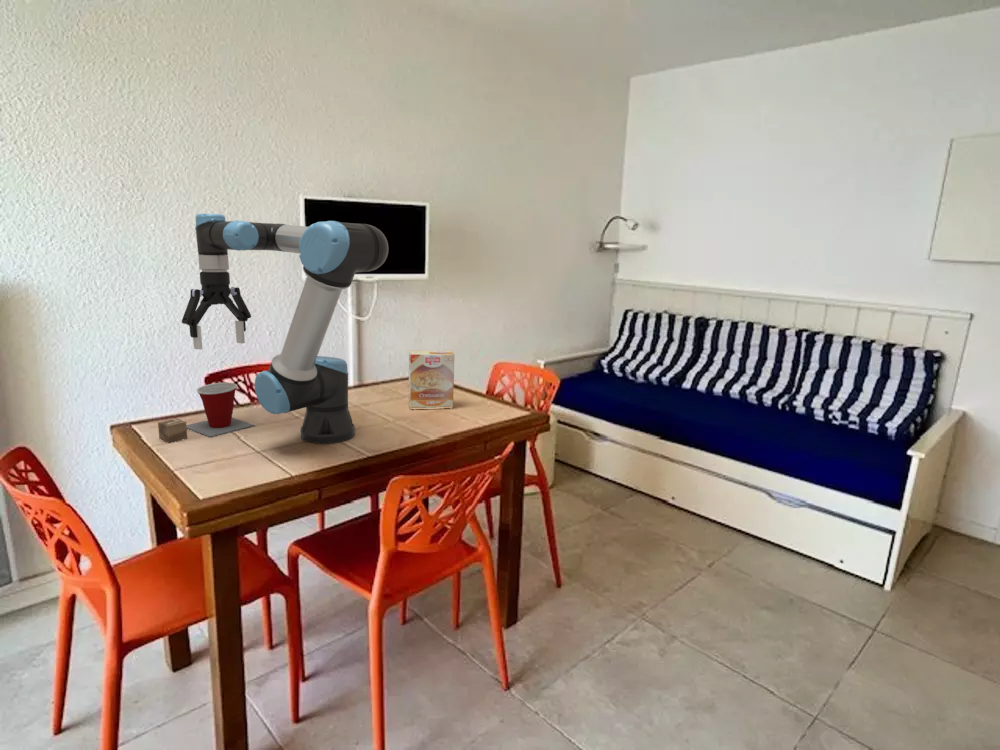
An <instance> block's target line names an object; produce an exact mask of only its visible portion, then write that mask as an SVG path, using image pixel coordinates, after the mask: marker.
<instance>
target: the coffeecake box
mask: <svg viewBox="0 0 1000 750" xmlns="http://www.w3.org/2000/svg"><path fill="white" fill-rule="evenodd" d="M454 378H455V354H454V352H453V351H452V350H409V351H408V407H409V410H410V409H412V408H436V407H454V383H455V379H454Z"/></svg>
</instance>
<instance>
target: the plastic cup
mask: <svg viewBox="0 0 1000 750" xmlns="http://www.w3.org/2000/svg"><path fill="white" fill-rule="evenodd" d="M237 388H238V384H237V383H234V382H225V381H224V382H216V383H215V382H214V383H209V384H205V385H202V386H199V387H198V388H197V389H196V392H197V394H199V397H200V399H201V402H202V406H203V409H204V412H205V416H206V419H207V420H208V423H209V426H210V427H212V428H224V427H228V426H230V425H231V420H232V418H233V414H234V412H233V411H234V403H235V396H236V389H237Z"/></svg>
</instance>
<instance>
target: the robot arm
mask: <svg viewBox="0 0 1000 750" xmlns="http://www.w3.org/2000/svg"><path fill="white" fill-rule="evenodd" d="M194 230H195V233H196V234H195V236H196V245H197V255H198V269H199V270H201V271H200V272H199V280H200V285H201V289H198V288H197V289H196V288H195V289H194V288H191V289H190V297H189V300H188V303H187V305H186V309H185V311H184V313H183V316H182V318H181V324H184V325H187V326H189V334H190V335H189V336H190V337H191V338H192V340H193V341H192V342H193V343H192V344H193V350H199V351H201V350H203V341H202V338H203V337H202V327H201V325H198V324H199V323H200V322H201V320H202V318H203V317H204V316H205V314H206V313H207V311H208V309H209V308H210V307H211V306H212V305H214V306H216V305H224V306H225V307H226V308H227V310H229V312H230V313H231V315H233V316H234V317H235V318H236V320H235V321H234V324H235V327H234V328H235V337H236V338H235V339H236V343H237V344H246V342H245V341H246V339H245V332H246V330H247V329H246V328H247V327H246V322H248V320H249V319H251V318H252V314H251V312H250V311H249V309H248V307H247V304H246V302H245V300H244V299H243V297H242V294H241V289H240V288H239V287H237V286H236V287H235V286H232V287H230V284H231V280H230V279H231V277H230V273H229V271H228V270H230V261H229V253H228V252H229V250H231V251H243V252H244V251H273V252H274V251H276V252H283V253H294V254H299V256H298V257H299V260H300V263H301V264H302V270H303V273H304V274H305V276H306V279H305V281H304V284H303V287H302V291H301V293H300V296H299V299H298V302H297V305H296V308H295V312H294V313H293V317H292V320H291V323H290V326H289V329H288V332H287V335H286V338H285V340H284V344H283V346H282V349H281V353H279V354H276V355H275V356H273V357H272V360H271V362H270V365H269V368H268V370H262V371H261V372H259V373H257V375H256V376H255V379H254V391H255V395H256V398H257V400H258V402H259V404H260V406H261V407H262V408H263V409H264V410H265V411H266V412H268V413H270V414H272V415H280V414H281V415H282V414H288V413H290V412H294V411H298V410H300V409H301V410H302V409H306V410H305V414H304V418H303V420H302V421H303V422H302V424H301V426H300V427H301V428H300V431H299V432H300V439H302V440H303V441H305V442H308V443H313V444H337V443H340V442H341V443H342V442H345V441H348V440H350V439H352V438H353V437H354V436H355V433H356V428H355V425H354V422H353V419H352V416H351V413H350V411H349V371H348V363H347V361H346V360H345V359H343V358H339V357H333V356H323V355H321V356H320V355H319V352H320V350H321V347H322V345H323V341H324V339H325V337H326V334H327V331H328V328H329V326H330V323H331V320H332V317H333V315H334V312H335V309H336V307H337V304H338V301H339V298H340V296H341V293H342V291H343V290H346V289H347V288H350V287H351V285H352V282H353V280H354V278H355V274H356V273H366V272H372V271H375V270H377V269H379V268H380V267H381V266H382V265H383V264H384V263H385V262H386V260H387V258H388V255H389V243H388V240H387V237H386V236H385V234H384V233H383V232H382V231H381V229H379V228H377V226H373V225H371V224H367V223H353V222H352V223H351V222H341V221H336V220H327V221H317V222H315V223H312V224H310V225H309V226H303V225H295V224H294V225H293V224H286V223H272V222H271V223H269V222H268V223H267V222H256V221H255V222H254V221H253V222H251V221H245V220H231V221H230V220H229V221H228V220H226V217H225V215H224V214H221V213H198V214H196V216H195V228H194ZM230 295H231V296H232V298H231V297H230ZM201 297H203V298H202V299H200V298H201ZM233 300H234V301H233ZM199 303H200V304H199Z"/></svg>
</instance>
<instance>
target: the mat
mask: <svg viewBox="0 0 1000 750" xmlns="http://www.w3.org/2000/svg"><path fill="white" fill-rule="evenodd" d="M252 426H253V427H255V424H253V423H251V422H247V421H244V420H240V419H237V418H234V417H232V420H231V425H230V426H228V427H224V428H212V427H210V426H209V423H208V419H207V420H204V421H200V422H195V423H191V424H186V428H187V430H188V429H189V430H188V431H190V430H192V431H191V432H193V431H194V432H193V433H196V432H197V433H196V434H199V433H200V435H202V436H204V435H205V437H207V436H208V438H210V437H211V438H215V437H218V435H219V436H222V434H223V435H226V434H229V432H230V433H233V431H234V432H238V431H241V429H242V430H245V429H249V428H252ZM237 430H238V431H237ZM214 436H215V437H214Z"/></svg>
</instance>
